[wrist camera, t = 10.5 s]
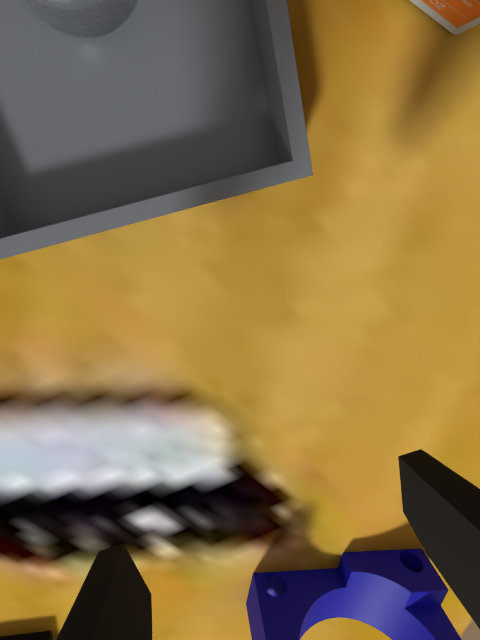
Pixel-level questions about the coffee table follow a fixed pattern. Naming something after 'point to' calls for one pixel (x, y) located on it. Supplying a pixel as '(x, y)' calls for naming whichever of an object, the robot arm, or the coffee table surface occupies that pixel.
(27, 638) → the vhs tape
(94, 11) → the cell
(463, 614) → the coffee table surface
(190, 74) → the grey tray
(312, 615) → the cable clip
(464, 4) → the skincare box
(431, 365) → the coffee table surface
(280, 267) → the coffee table surface
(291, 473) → the coffee table surface
